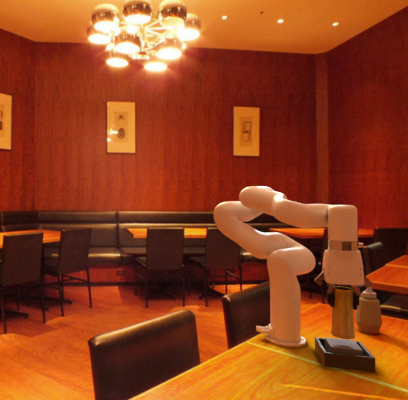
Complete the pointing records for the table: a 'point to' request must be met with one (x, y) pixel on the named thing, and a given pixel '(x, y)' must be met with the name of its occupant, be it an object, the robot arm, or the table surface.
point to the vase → (343, 313)
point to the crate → (345, 358)
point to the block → (342, 346)
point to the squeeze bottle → (368, 312)
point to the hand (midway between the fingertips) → (342, 306)
